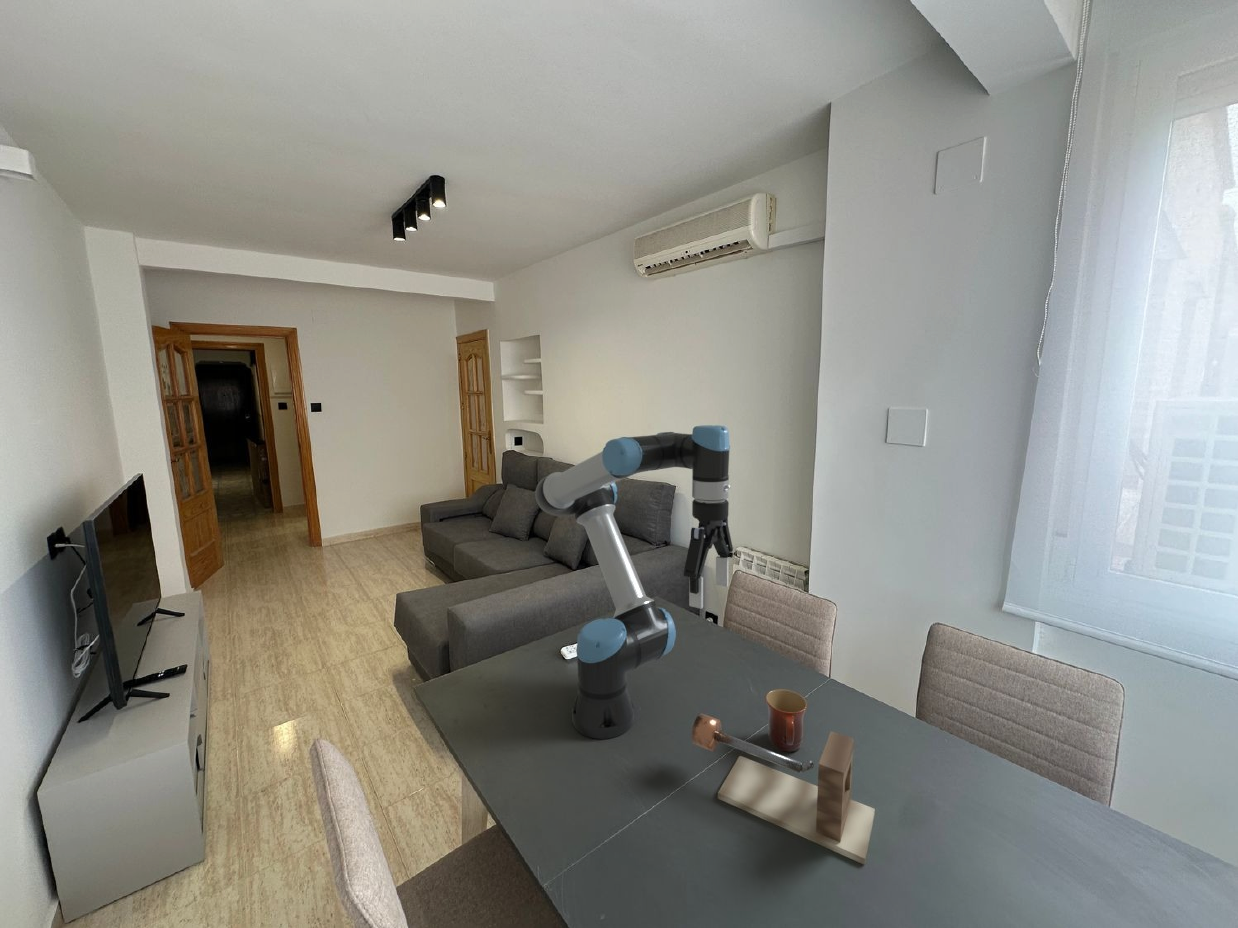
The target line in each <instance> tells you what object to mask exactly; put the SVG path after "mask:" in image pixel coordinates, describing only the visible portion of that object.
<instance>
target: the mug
mask: <svg viewBox="0 0 1238 928" xmlns="http://www.w3.org/2000/svg"><path fill="white" fill-rule="evenodd" d="M765 701H766V706H767V708H768V718H767V719H768V720H767V734H768V739H769V742H770V744H771V745H772V746H773V747H775V748H776V749H778V750H780V751H782V752H791V753H792V752H795V751H797V750H799V749H800V748H801V746H802V744H803V739H804V715H805V713H806V710H807V708H808V702H807V700H806V698H805V697H803V696H802V695H801V694H799V692H798V693H797V692H795V691H793V690H790V689H784V688H783V689H782V688H781V689H780V688H779V689H773V690H771V691H768V693H767V694H766V695H765Z"/></svg>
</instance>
